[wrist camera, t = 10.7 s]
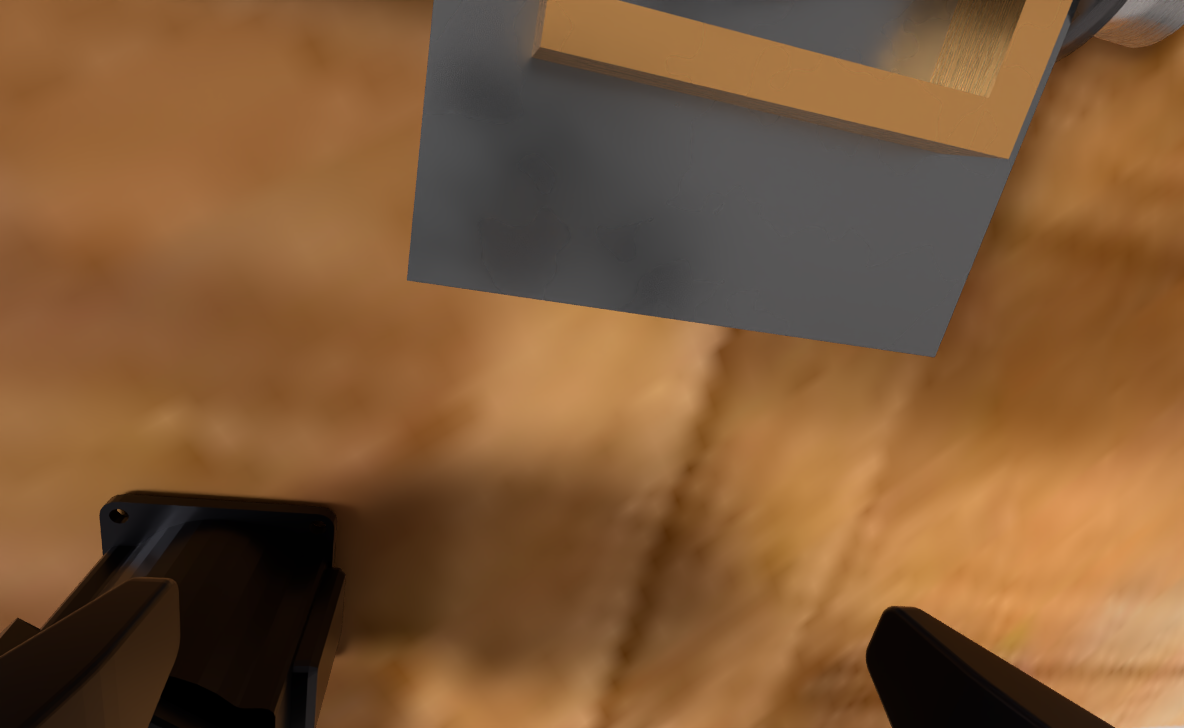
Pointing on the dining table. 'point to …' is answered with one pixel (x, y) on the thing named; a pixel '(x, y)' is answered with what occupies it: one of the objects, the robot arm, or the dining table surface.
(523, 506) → the dining table surface
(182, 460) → the dining table surface
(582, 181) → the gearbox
